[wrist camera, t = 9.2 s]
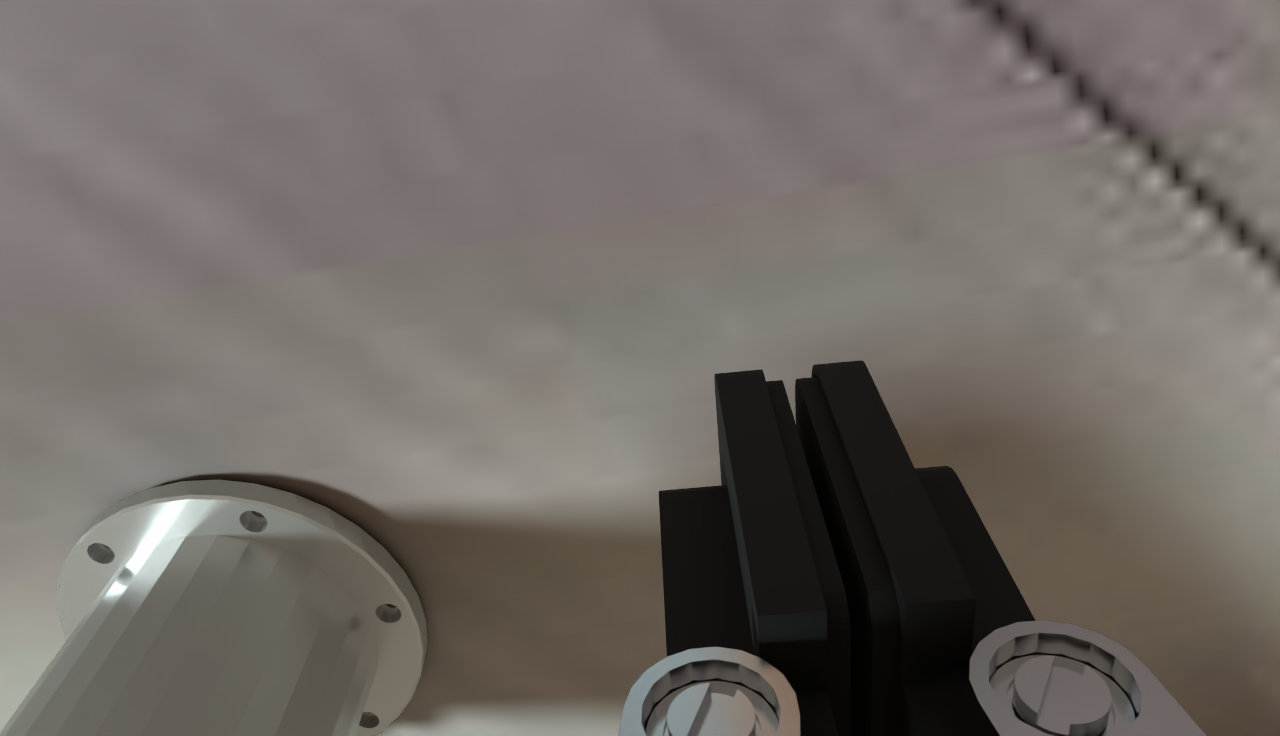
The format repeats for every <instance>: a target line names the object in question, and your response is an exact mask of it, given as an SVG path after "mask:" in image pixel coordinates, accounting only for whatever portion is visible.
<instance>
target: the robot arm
mask: <svg viewBox="0 0 1280 736" xmlns="http://www.w3.org/2000/svg"><path fill="white" fill-rule="evenodd" d="M715 395H716V409H717V424H718V438H719V453H720V467H721V482H722V486H711V487H700V488H688V489H677V490H665V491H659V506H660V526H661V546H662V566H663V585H664V605H665V625H666V645H667V657H666V658H664V659H663V660H661V661H659V662H658V663H656V664H655V665H653V666H652V667H650V668H649V669H647V670H646V671H645V672H644V673H643V674H642V676H641V677H640V678H639V679H638V680H637V681H636V682H635V684H634V685H633V686H632V687H631V689H630V692H629V695H628V697H627V700H626V702H625V705H624V707H623V712H622V717H621V722H620V727H619V733H618V736H1207V735H1206V734H1205V733H1204V732H1203V731H1202V730H1201V729H1200V727H1199V726H1198V725H1197V724H1196V723H1195V722H1194V720H1193V719H1192V718H1191V717H1190V716H1189V715H1188V714H1187V712H1186V711H1185V710H1184V709H1183V708H1182V707H1181V705H1180V704H1179V703H1178V702H1177V701H1176V700H1175V698H1174V697H1173V696H1172V695H1171V694H1170V693H1169V692H1168V690H1167V689H1166V688H1165V687H1164V686H1163V685H1162V683H1161V682H1160V681H1159V680H1158V679H1157V678H1156V677H1155V675H1154V674H1153V673H1152V672H1151V671H1150V670H1149V668H1148V667H1147V666H1146V665H1145V664H1144V663H1142V662H1141V661H1140V660H1139V659H1138V658H1137V657H1136V656H1135V655H1134V654H1132V653H1131V652H1130V651H1129V650H1128V649H1127V648H1126V647H1124V646H1122V645H1120V644H1119V643H1117V642H1115V641H1113V640H1111V639H1110V638H1108V637H1106V636H1104V635H1103V634H1101V633H1098V632H1095V631H1092V630H1089V629H1086V628H1083V627H1080V626H1077V625H1074V624H1069V623H1062V622H1054V621H1047V620H1039V621H1035V619H1034V617H1033V615H1032V614H1031V612H1030V610H1029V608H1028V606H1027V604H1026V602H1025V601H1024V599H1023V597H1022V595H1021V593H1020V591H1019V589H1018V588H1017V586H1016V584H1015V582H1014V580H1013V578H1012V576H1011V574H1010V573H1009V571H1008V569H1007V567H1006V565H1005V563H1004V561H1003V560H1002V558H1001V556H1000V554H999V552H998V550H997V548H996V547H995V545H994V543H993V541H992V539H991V537H990V535H989V534H988V532H987V530H986V528H985V526H984V524H983V522H982V521H981V519H980V517H979V515H978V513H977V511H976V509H975V508H974V506H973V504H972V502H971V500H970V498H969V496H968V495H967V493H966V491H965V489H964V487H963V485H962V483H961V482H960V480H959V478H958V476H957V475H956V473H955V472H954V470H953V469H952V468H950V467H948V466H941V467H929V468H918V469H915V468H914V466H913V464H912V462H911V460H910V457H909V455H908V453H907V451H906V449H905V447H904V445H903V443H902V441H901V438H900V436H899V434H898V432H897V430H896V428H895V426H894V424H893V422H892V419H891V417H890V415H889V413H888V411H887V409H886V407H885V405H884V403H883V400H882V398H881V396H880V394H879V392H878V390H877V388H876V386H875V384H874V381H873V379H872V377H871V375H870V373H869V371H868V369H867V367H866V365H865V363H864V362H863V361H851V362H840V363H829V364H818V365H814V366H813V368H812V378H802V379H796V384H795V404H796V424H795V421H794V417H793V414H792V411H791V407H790V404H789V401H788V397H787V394H786V391H785V387H784V384H783V381H782V380H780V381H769V382H766V381H765V377H764V373H763V370H752V371H741V372H731V373H720V374H715ZM57 615H58V619H59V622H60V625H61V629H62V632H63V636H64V639H65V641H66V642H65V643H64V645H63V646H62V647H61V649H60V650H59V652H58V653H57V654H56V656H55V657H54V659H53V660H52V661H51V663H50V664H49V665H48V667H47V668H46V670H45V671H44V672H43V674H42V675H41V677H40V678H39V679H38V681H37V682H36V683H35V685H34V686H33V688H32V689H31V690H30V692H29V693H28V695H27V696H26V697H25V699H24V700H23V702H22V703H21V704H20V706H19V707H18V708H17V710H16V711H15V713H14V714H13V715H12V717H11V718H10V720H9V721H8V722H7V724H6V725H5V726H4V728H3V729H2V731H1V732H0V736H374V735H376V734H378V733H380V732H381V731H382V730H383V729H385V728H386V727H387V726H388V725H389V724H390V723H392V722H393V721H394V720H395V719H396V718H397V717H399V715H400V714H401V713H402V711H403V710H404V709H405V707H406V706H407V704H408V703H409V702H410V700H411V699H412V697H413V695H414V692H415V690H416V687H417V685H418V682H419V679H420V677H421V673H422V669H423V664H424V660H425V656H426V651H427V622H426V619H425V616H424V612H423V609H422V605H421V602H420V599H419V596H418V594H417V593H416V591H415V589H414V587H413V586H412V584H411V582H410V580H409V578H408V577H407V575H406V573H405V572H404V570H403V569H402V568H401V567H400V566H399V564H398V563H397V562H396V561H395V560H394V559H393V557H392V556H391V555H390V554H389V553H388V551H387V550H386V549H385V548H384V547H383V546H382V545H380V544H379V543H378V542H377V541H376V540H374V539H373V538H372V537H371V536H370V535H368V534H367V533H366V532H365V531H364V530H362V529H361V528H360V527H359V526H357V525H356V524H354V523H352V522H351V521H349V520H347V519H346V518H344V517H342V516H341V515H339V514H337V513H336V512H334V511H332V510H331V509H329V508H327V507H325V506H322V505H320V504H318V503H315V502H313V501H310V500H308V499H306V498H303V497H301V496H298V495H296V494H294V493H290V492H286V491H282V490H279V489H275V488H271V487H267V486H263V485H259V484H255V483H245V482H236V481H227V480H199V481H181V482H177V483H172V484H168V485H163V486H158V487H154V488H149V489H147V490H145V491H142V492H140V493H138V494H135V495H133V496H131V497H129V498H126V499H124V500H122V501H120V502H119V503H117V504H116V505H114V506H113V507H112V508H110V509H109V510H108V511H106V512H105V513H104V514H102V515H101V516H99V517H98V518H97V519H96V520H95V522H94V523H93V524H92V525H91V526H90V527H89V529H88V530H87V531H86V532H85V533H84V534H83V536H82V537H81V538H80V539H79V540H78V541H77V543H76V544H75V546H74V547H73V549H72V551H71V552H70V554H69V556H68V557H67V559H66V561H65V562H64V564H63V566H62V570H61V574H60V578H59V582H58V586H57Z"/></svg>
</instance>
